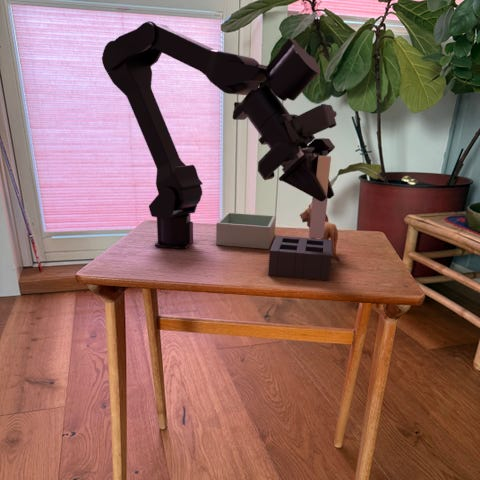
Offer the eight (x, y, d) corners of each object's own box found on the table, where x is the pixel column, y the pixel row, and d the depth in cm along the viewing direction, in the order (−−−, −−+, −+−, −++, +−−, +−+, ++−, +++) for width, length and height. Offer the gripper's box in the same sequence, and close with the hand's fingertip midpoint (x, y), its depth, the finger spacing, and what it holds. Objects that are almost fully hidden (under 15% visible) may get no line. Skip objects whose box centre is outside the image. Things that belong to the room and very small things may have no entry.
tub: (216, 244, 96) (216, 223, 94) (226, 232, 106) (227, 212, 104) (268, 249, 94) (270, 227, 92) (274, 235, 104) (275, 215, 102)
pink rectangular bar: (308, 237, 77) (317, 156, 72) (309, 234, 80) (317, 155, 74) (323, 238, 77) (332, 157, 71) (323, 235, 79) (332, 156, 74)
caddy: (268, 275, 79) (269, 250, 78) (274, 258, 89) (276, 235, 87) (328, 281, 78) (332, 255, 76) (328, 262, 87) (331, 239, 85)
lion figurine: (294, 244, 99) (298, 202, 95) (316, 242, 100) (320, 201, 96) (328, 264, 86) (333, 217, 82) (352, 262, 88) (359, 216, 84)
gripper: (281, 79, 63) (347, 170, 62) (330, 87, 77) (383, 161, 77) (231, 137, 70) (290, 219, 69) (285, 134, 84) (334, 202, 84)
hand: (328, 198), depth 75 cm, fingers closed on pink rectangular bar, 3 cm apart
